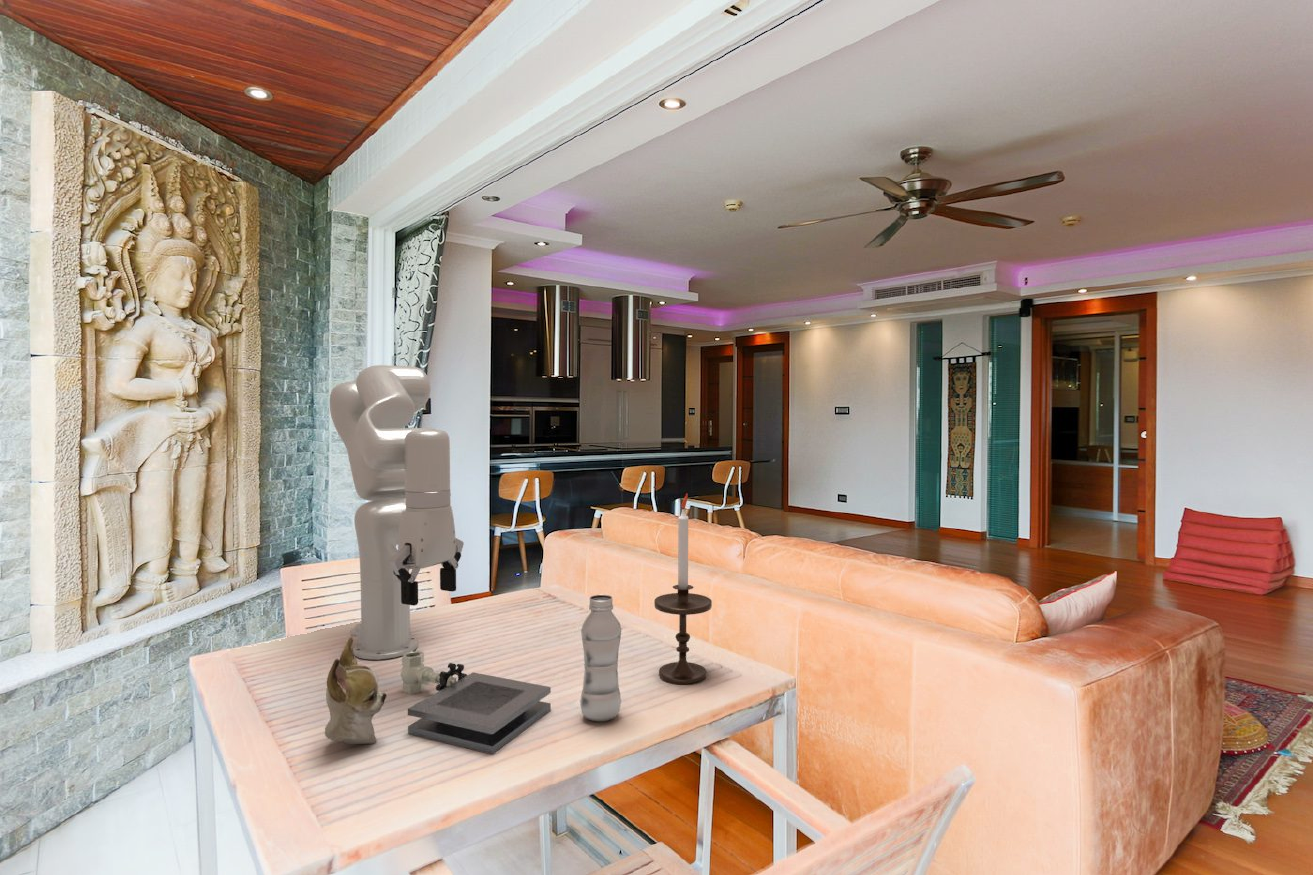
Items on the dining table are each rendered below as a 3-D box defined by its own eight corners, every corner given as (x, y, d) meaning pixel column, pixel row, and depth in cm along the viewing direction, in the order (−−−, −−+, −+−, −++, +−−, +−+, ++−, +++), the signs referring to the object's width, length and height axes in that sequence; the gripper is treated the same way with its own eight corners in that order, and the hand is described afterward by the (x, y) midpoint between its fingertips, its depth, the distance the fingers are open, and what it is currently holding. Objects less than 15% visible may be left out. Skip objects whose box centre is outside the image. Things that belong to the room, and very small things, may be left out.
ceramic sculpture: (380, 759, 100) (379, 657, 99) (316, 765, 98) (314, 661, 97) (392, 725, 110) (391, 633, 110) (334, 730, 109) (332, 637, 108)
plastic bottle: (580, 709, 116) (580, 592, 115) (620, 708, 117) (620, 591, 116) (579, 727, 110) (579, 603, 109) (622, 725, 110) (622, 602, 110)
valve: (390, 694, 122) (440, 708, 117) (390, 658, 122) (439, 670, 117) (419, 681, 128) (467, 694, 123) (418, 646, 128) (467, 657, 122)
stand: (408, 733, 108) (407, 708, 107) (473, 694, 122) (473, 672, 122) (492, 754, 101) (492, 727, 101) (550, 710, 116) (550, 687, 116)
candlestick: (719, 670, 134) (720, 491, 132) (698, 691, 124) (699, 497, 122) (668, 661, 138) (668, 488, 137) (644, 680, 129) (645, 494, 127)
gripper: (444, 494, 130) (445, 583, 131) (373, 505, 114) (375, 607, 115) (476, 495, 127) (478, 587, 128) (409, 508, 111) (410, 612, 112)
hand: (429, 597), depth 121 cm, fingers open, 9 cm apart
